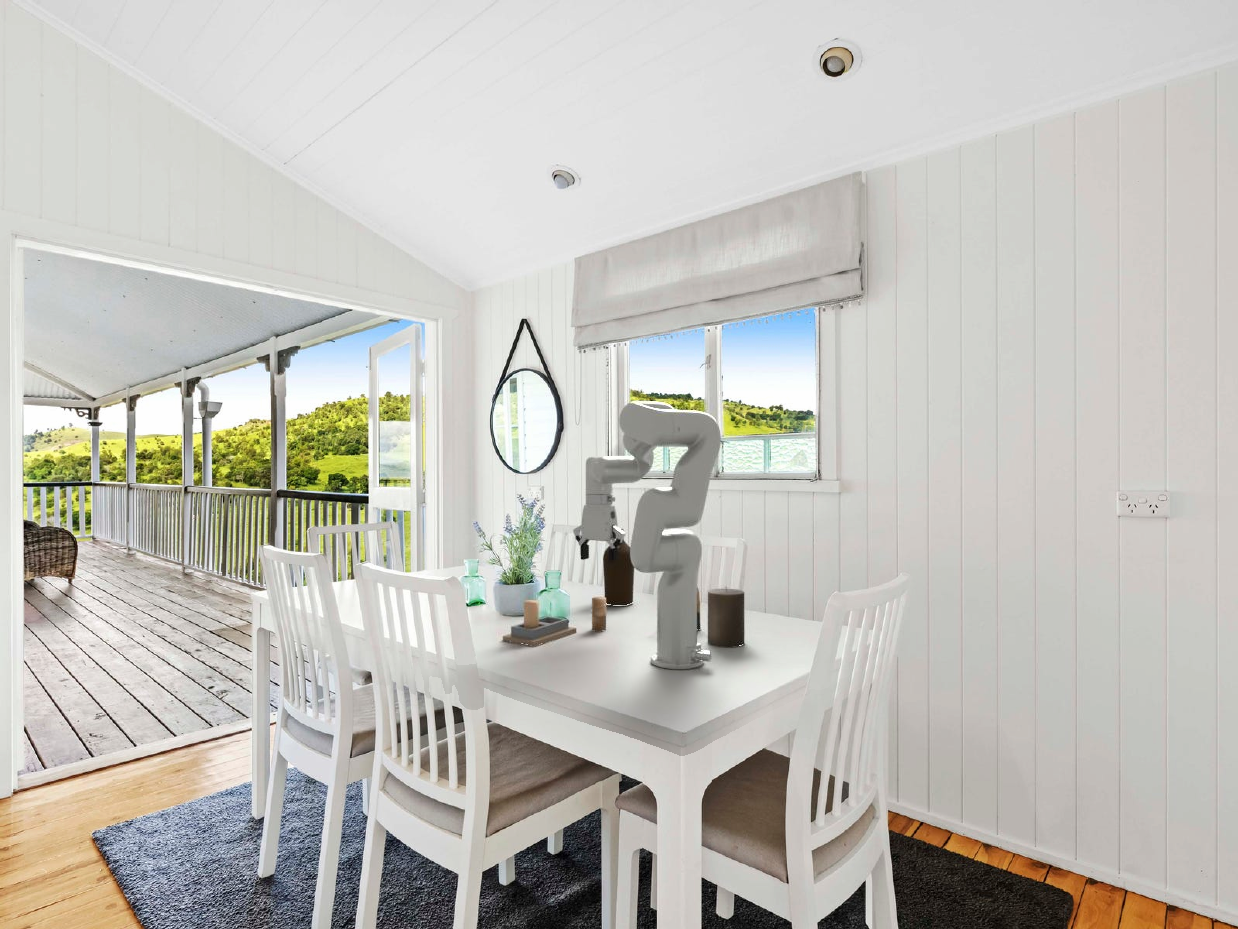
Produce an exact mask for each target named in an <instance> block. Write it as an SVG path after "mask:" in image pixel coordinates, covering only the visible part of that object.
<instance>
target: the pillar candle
mask: <svg viewBox="0 0 1238 929" xmlns="http://www.w3.org/2000/svg"><path fill="white" fill-rule="evenodd" d="M745 632H746V631H745V591H744V590H742V589H738V588H727V586H725V588H713V589H709V590H707V643H708V644H709V643H710V644H709V645H711V644H712V645H711V646H714V647H719V648H734V647H733V646H739V645H742V644H744V645H745ZM742 646H743V645H742ZM739 647H740V646H739Z"/></svg>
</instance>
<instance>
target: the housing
mask: <svg viewBox="0 0 1238 929" xmlns="http://www.w3.org/2000/svg"><path fill="white" fill-rule="evenodd" d="M572 633H573V634H576V633H577V628H576V627H571V626H570V625H569V619H568V618H562V617H555V616H549V615H546V616H543V617H540V601H539V600H537V599H527V600H524V601H523V622H522V623H519V624H515V625H511V626H510V633H509V634H505V635H503V636H502V641H503V640H506V641H505V642H508V641H511V642H510V643H513V642H515V643H514V644H518V643H523V644H528V645H532V646H531V647H534V646H535V647H537V646H536V645H538V646H540V645H539V644H541V643H544V644H546V642H547V643H550V642H552V640H553V641H555V640H558V639H561V638H564V637H566V636H567V637H568V636H570V635H573V634H572ZM549 641H550V642H549ZM523 644H522V645H523ZM528 645H527V646H528ZM541 645H542V644H541Z"/></svg>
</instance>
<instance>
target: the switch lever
mask: <svg viewBox="0 0 1238 929" xmlns="http://www.w3.org/2000/svg"><path fill="white" fill-rule="evenodd" d="M591 630H595V631H594V632H597V631H601V632H603V631H602V630H605V631H606V630H607V605H606V598H605V596H604V597H603V596H594V597H591Z"/></svg>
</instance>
